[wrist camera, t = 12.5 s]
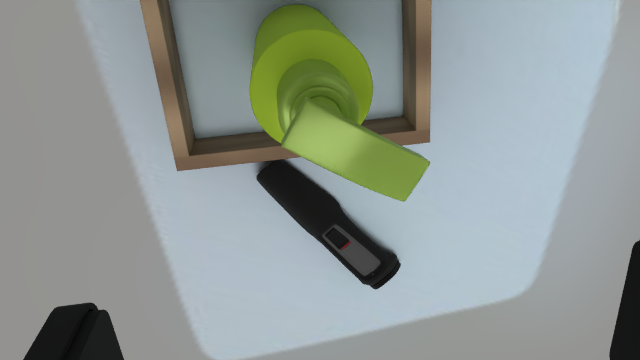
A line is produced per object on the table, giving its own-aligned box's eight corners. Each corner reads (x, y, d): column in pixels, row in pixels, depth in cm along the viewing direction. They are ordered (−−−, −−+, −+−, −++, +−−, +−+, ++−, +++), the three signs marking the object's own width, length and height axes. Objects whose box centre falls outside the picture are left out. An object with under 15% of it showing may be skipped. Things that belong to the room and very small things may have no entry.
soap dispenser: (325, 108, 38) (380, 249, 19) (241, 65, 36) (215, 177, 17) (364, 37, 36) (467, 120, 18) (278, -12, 34) (292, 23, 16)
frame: (145, -32, 32) (132, -31, 29) (416, -57, 34) (432, -58, 30) (184, 153, 38) (177, 171, 35) (416, 127, 39) (429, 142, 36)
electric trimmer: (279, 140, 39) (280, 154, 36) (402, 258, 44) (411, 279, 41) (245, 171, 40) (243, 187, 37) (370, 283, 45) (376, 305, 42)
